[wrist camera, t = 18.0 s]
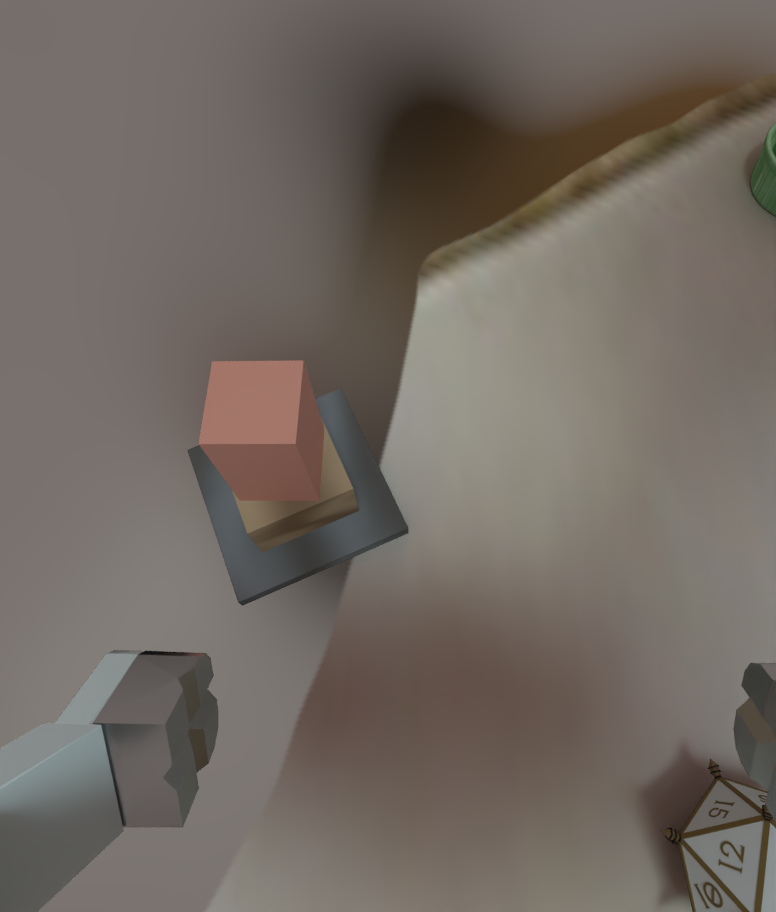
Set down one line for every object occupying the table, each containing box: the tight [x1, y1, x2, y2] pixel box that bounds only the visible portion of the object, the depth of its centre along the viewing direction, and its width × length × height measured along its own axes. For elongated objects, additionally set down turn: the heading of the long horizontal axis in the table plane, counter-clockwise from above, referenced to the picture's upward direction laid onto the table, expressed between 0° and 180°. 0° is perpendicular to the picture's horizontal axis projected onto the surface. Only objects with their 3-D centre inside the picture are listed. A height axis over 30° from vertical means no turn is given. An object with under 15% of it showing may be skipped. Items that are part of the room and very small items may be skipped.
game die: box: [662, 759, 776, 912], centre depth 31 cm, size 9×8×10 cm
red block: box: [199, 361, 324, 501], centre depth 37 cm, size 5×5×8 cm
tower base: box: [188, 389, 408, 605], centre depth 43 cm, size 12×12×5 cm
